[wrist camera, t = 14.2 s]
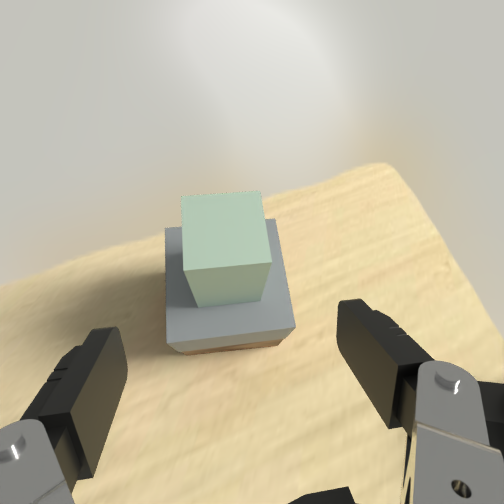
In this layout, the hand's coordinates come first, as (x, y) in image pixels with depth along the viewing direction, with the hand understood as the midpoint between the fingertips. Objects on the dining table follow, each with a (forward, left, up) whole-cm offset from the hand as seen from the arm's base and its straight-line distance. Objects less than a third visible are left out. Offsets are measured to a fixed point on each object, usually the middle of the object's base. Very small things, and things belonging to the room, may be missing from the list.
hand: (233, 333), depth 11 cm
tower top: (0, +7, -18) cm, 19 cm away
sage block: (0, +7, -12) cm, 14 cm away
